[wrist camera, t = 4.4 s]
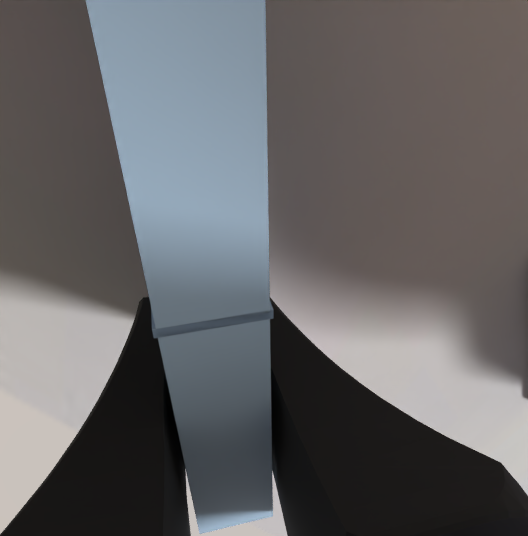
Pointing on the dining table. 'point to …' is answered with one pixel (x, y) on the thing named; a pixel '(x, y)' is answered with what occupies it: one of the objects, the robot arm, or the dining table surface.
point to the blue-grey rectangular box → (201, 226)
